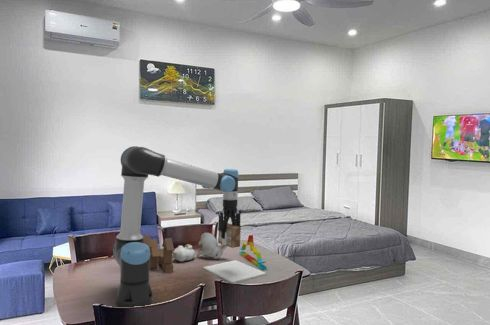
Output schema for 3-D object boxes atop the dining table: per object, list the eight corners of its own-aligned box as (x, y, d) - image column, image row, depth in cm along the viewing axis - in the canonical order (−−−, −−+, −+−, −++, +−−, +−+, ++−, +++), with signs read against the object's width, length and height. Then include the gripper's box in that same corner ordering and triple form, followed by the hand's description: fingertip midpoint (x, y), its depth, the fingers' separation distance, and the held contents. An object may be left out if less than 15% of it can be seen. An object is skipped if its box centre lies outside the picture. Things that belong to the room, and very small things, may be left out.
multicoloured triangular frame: (266, 270, 199) (267, 242, 198) (261, 270, 197) (262, 243, 197) (244, 254, 226) (244, 230, 226) (239, 254, 225) (240, 230, 224)
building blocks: (137, 280, 176) (138, 208, 175) (128, 265, 198) (129, 201, 196) (176, 275, 185) (178, 206, 183) (163, 261, 207) (164, 199, 205)
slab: (231, 248, 183) (232, 228, 182) (217, 242, 192) (218, 223, 192) (240, 246, 186) (240, 227, 186) (225, 241, 195) (226, 222, 195)
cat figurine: (195, 241, 215) (172, 242, 205) (200, 251, 209) (178, 253, 200) (188, 253, 218) (166, 255, 208) (194, 263, 213) (171, 265, 203)
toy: (194, 260, 212) (228, 262, 208) (194, 233, 211) (228, 235, 207) (199, 256, 220) (231, 257, 216) (199, 230, 220) (231, 232, 216)
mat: (232, 283, 177) (232, 281, 177) (203, 268, 197) (203, 267, 197) (266, 274, 191) (266, 273, 191) (235, 261, 211) (235, 260, 211)
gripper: (220, 201, 179) (218, 248, 180) (248, 198, 191) (247, 242, 192) (211, 199, 185) (210, 244, 186) (239, 197, 197) (238, 239, 198)
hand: (228, 243), depth 189 cm, fingers closed on slab, 5 cm apart
